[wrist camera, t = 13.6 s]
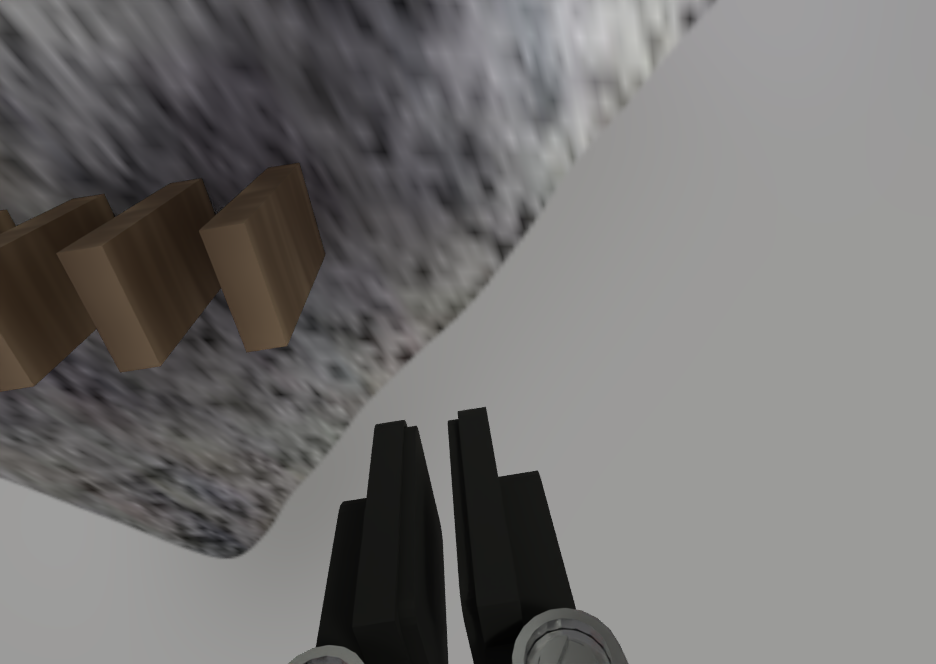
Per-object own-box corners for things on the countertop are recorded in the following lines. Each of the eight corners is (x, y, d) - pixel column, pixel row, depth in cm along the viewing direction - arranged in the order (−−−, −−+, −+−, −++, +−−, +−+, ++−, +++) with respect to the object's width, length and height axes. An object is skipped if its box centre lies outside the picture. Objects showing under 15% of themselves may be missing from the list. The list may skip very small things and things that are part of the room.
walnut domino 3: (299, 162, 28) (244, 223, 19) (325, 254, 30) (287, 346, 21) (268, 167, 28) (198, 230, 19) (296, 259, 30) (246, 352, 22)
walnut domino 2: (201, 178, 28) (101, 246, 19) (235, 269, 30) (160, 366, 22) (170, 183, 28) (56, 252, 19) (206, 273, 30) (120, 372, 21)
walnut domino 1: (104, 193, 28) (-41, 268, 19) (145, 283, 30) (34, 386, 21) (72, 198, 28) (-87, 276, 19) (117, 287, 30) (-7, 392, 21)
